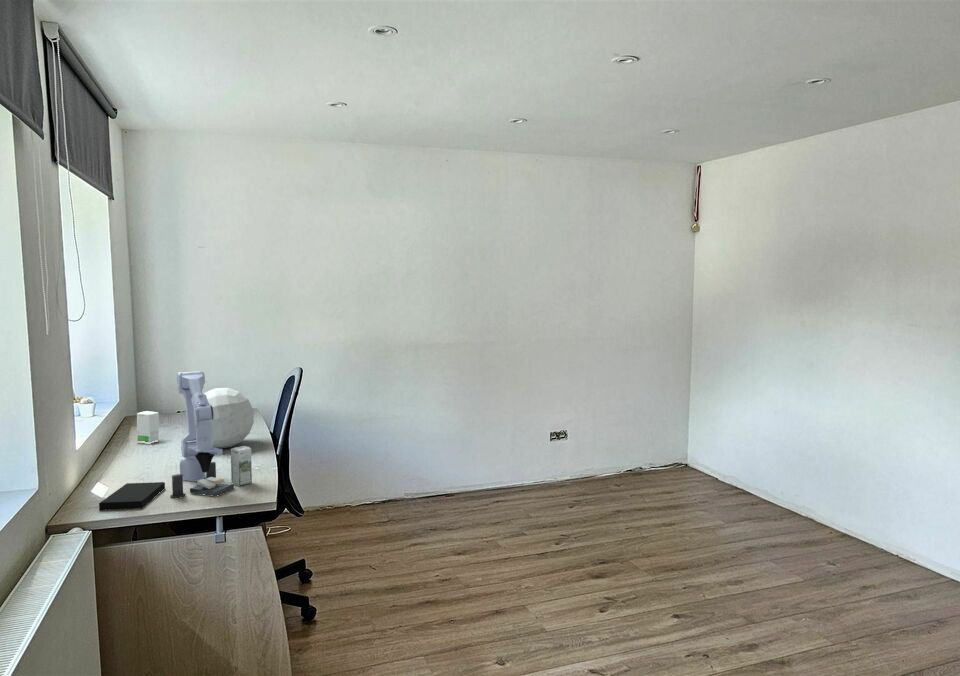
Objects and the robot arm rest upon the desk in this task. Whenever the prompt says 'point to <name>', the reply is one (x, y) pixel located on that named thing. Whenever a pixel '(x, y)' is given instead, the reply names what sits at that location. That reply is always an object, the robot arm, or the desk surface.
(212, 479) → the orange-tipped paddle
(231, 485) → the panel
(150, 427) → the skincare box
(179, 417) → the desk surface
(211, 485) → the grey paddle
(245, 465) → the syrup box
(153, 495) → the external hard drive
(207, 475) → the far cord post
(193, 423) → the robot arm
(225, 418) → the ball
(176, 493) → the post
